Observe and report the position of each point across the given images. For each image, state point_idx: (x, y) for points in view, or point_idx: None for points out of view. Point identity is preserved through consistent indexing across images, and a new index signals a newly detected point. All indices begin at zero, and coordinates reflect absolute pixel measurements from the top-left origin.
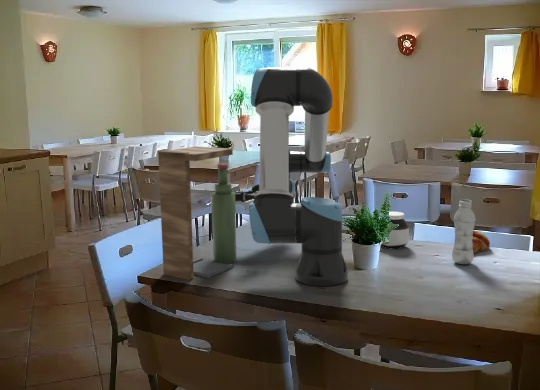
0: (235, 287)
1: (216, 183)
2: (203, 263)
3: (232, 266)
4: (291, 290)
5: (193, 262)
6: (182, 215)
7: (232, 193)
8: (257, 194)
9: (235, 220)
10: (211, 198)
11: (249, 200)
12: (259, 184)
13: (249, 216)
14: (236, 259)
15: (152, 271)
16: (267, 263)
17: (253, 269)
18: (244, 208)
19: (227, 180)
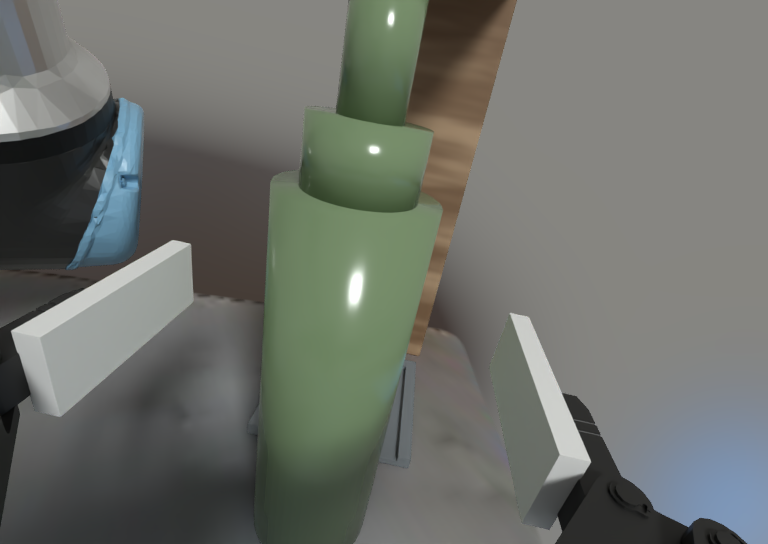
0: (202, 309)
1: (427, 129)
2: None
3: (248, 428)
4: (30, 309)
5: (401, 414)
6: None
7: (289, 185)
8: (90, 53)
9: (262, 357)
10: (517, 319)
11: (143, 268)
12: (58, 4)
13: (143, 138)
14: (254, 522)
15: (461, 357)
16: (66, 528)
17: (153, 430)
18: (192, 291)
19: (340, 83)
